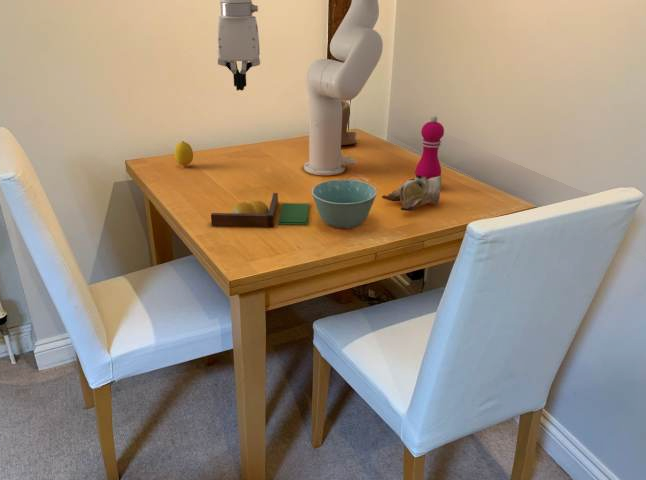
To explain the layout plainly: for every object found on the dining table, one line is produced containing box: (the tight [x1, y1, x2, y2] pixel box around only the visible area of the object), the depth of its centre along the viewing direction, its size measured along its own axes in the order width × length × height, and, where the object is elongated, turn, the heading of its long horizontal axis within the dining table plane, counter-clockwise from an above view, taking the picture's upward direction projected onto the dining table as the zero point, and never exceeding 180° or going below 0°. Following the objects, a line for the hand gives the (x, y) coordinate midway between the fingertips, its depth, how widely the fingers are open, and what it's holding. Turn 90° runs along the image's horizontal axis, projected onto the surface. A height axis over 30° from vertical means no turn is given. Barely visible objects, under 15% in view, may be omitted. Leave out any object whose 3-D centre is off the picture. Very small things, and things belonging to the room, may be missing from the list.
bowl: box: [311, 179, 378, 230], centre depth 142 cm, size 16×16×8 cm
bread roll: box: [232, 200, 270, 214], centre depth 146 cm, size 8×9×4 cm
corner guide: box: [210, 192, 279, 228], centre depth 147 cm, size 15×15×3 cm
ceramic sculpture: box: [381, 175, 442, 212], centre depth 151 cm, size 11×9×15 cm
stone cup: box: [340, 100, 357, 146], centre depth 196 cm, size 15×12×15 cm
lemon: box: [173, 140, 194, 168], centre depth 177 cm, size 6×6×8 cm
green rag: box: [277, 202, 310, 226], centre depth 148 cm, size 7×13×1 cm, turn 178°
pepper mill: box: [414, 115, 445, 180], centre depth 160 cm, size 7×7×20 cm
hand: (240, 89), depth 149 cm, fingers closed
